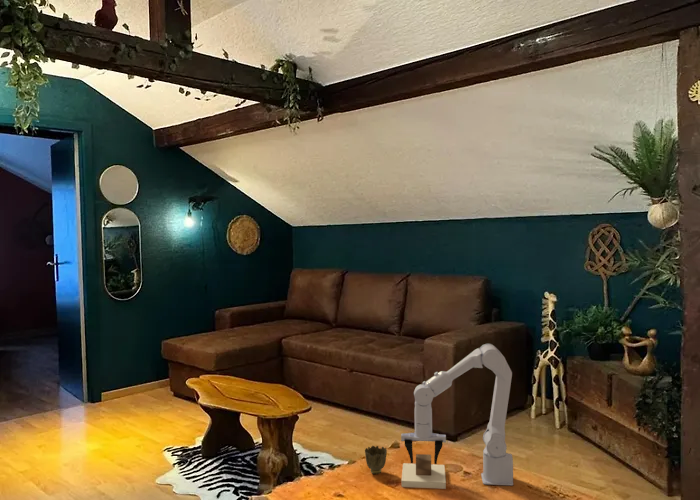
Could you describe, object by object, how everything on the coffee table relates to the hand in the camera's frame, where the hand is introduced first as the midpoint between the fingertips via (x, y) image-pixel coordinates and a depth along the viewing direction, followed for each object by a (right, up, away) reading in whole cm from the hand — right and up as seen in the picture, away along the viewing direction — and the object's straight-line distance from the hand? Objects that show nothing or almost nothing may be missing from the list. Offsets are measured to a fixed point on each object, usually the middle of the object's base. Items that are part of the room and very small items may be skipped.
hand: (423, 462), depth 199 cm
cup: (-16, -6, +5) cm, 17 cm away
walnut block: (0, -3, +1) cm, 3 cm away
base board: (0, -5, 0) cm, 5 cm away
